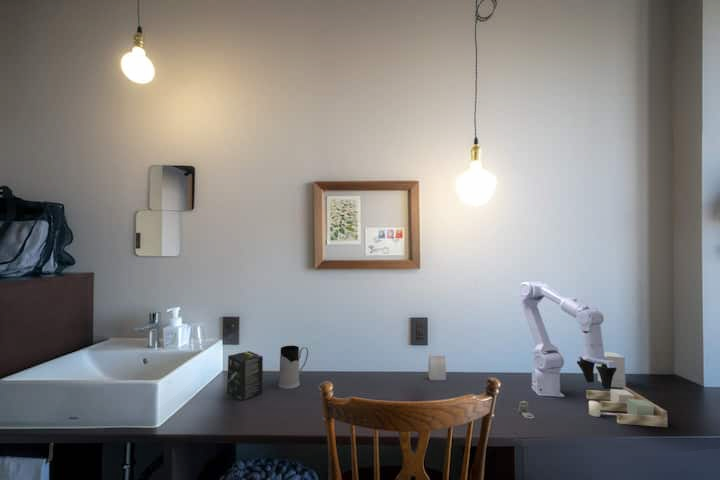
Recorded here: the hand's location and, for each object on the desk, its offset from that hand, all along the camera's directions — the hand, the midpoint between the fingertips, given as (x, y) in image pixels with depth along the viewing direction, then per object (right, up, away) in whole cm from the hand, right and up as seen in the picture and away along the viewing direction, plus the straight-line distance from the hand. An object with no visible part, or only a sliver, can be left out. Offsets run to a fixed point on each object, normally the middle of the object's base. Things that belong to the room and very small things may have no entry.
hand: (598, 385), depth 114 cm
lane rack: (+10, -10, +2) cm, 15 cm away
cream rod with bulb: (+6, -10, -2) cm, 11 cm away
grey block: (+14, -11, +7) cm, 18 cm away
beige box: (-48, -11, +32) cm, 59 cm away
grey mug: (-109, -11, +26) cm, 113 cm away
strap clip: (-25, -10, +1) cm, 27 cm away
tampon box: (-126, -10, +15) cm, 127 cm away
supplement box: (+25, -12, +27) cm, 39 cm away
